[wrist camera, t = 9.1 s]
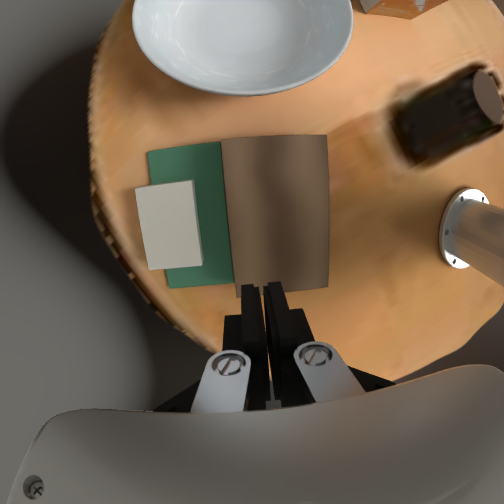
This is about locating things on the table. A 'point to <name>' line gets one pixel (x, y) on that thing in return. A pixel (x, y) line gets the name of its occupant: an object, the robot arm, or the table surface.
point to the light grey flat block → (170, 224)
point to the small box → (399, 7)
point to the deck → (278, 210)
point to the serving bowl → (243, 41)
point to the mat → (199, 209)
